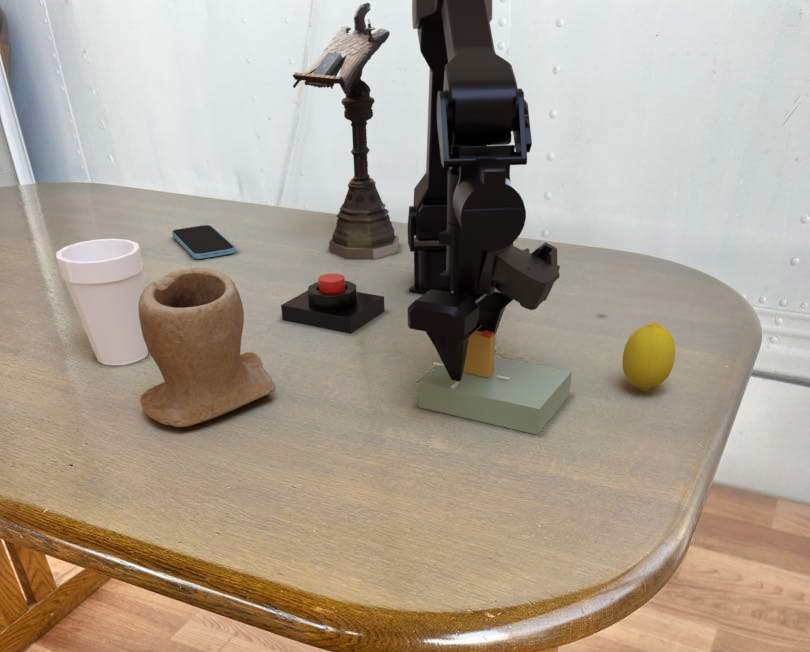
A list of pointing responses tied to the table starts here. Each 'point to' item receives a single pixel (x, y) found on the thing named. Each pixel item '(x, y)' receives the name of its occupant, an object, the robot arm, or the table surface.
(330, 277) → the button
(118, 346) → the foam cup
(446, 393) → the plate
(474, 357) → the orange flat slab
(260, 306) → the table surface
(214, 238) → the smartphone
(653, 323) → the lemon
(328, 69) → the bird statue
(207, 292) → the stone cup
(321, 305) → the release button base
